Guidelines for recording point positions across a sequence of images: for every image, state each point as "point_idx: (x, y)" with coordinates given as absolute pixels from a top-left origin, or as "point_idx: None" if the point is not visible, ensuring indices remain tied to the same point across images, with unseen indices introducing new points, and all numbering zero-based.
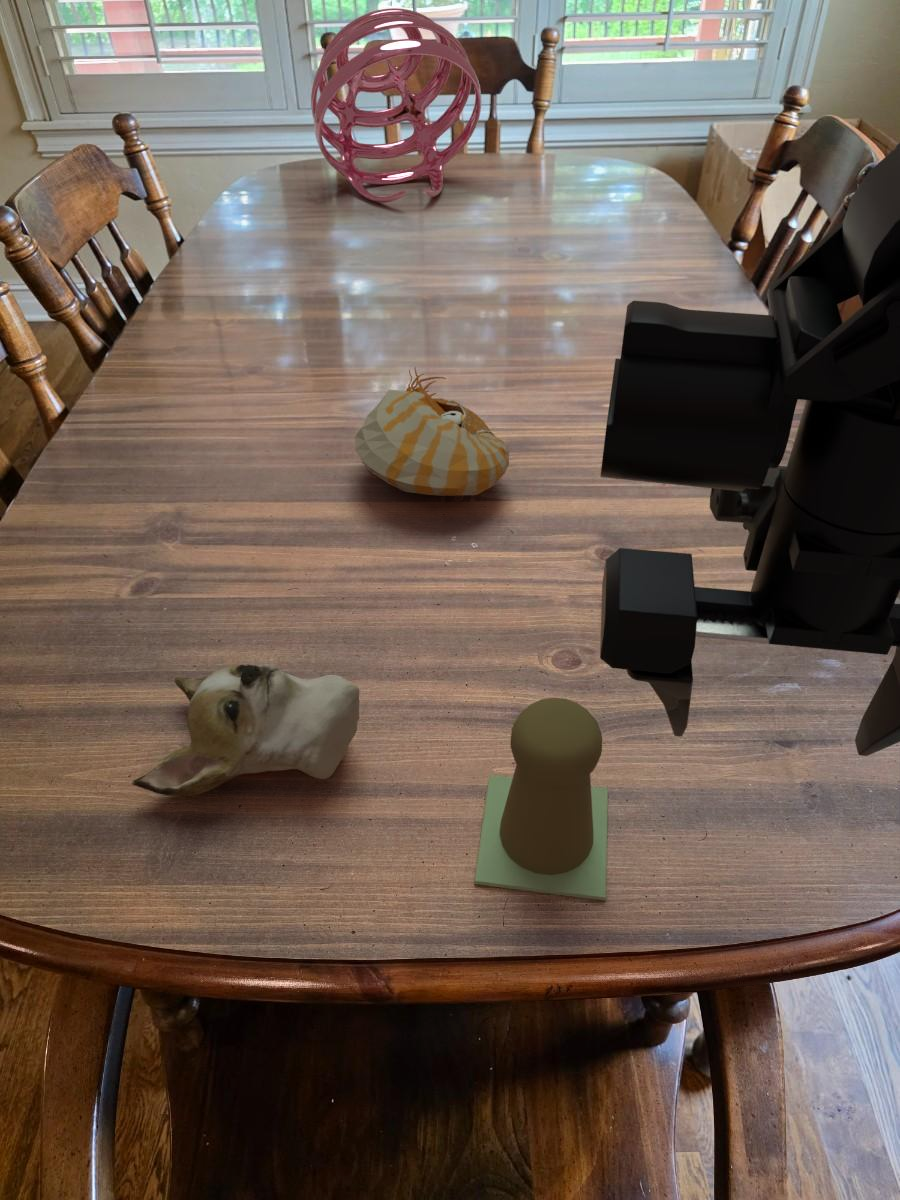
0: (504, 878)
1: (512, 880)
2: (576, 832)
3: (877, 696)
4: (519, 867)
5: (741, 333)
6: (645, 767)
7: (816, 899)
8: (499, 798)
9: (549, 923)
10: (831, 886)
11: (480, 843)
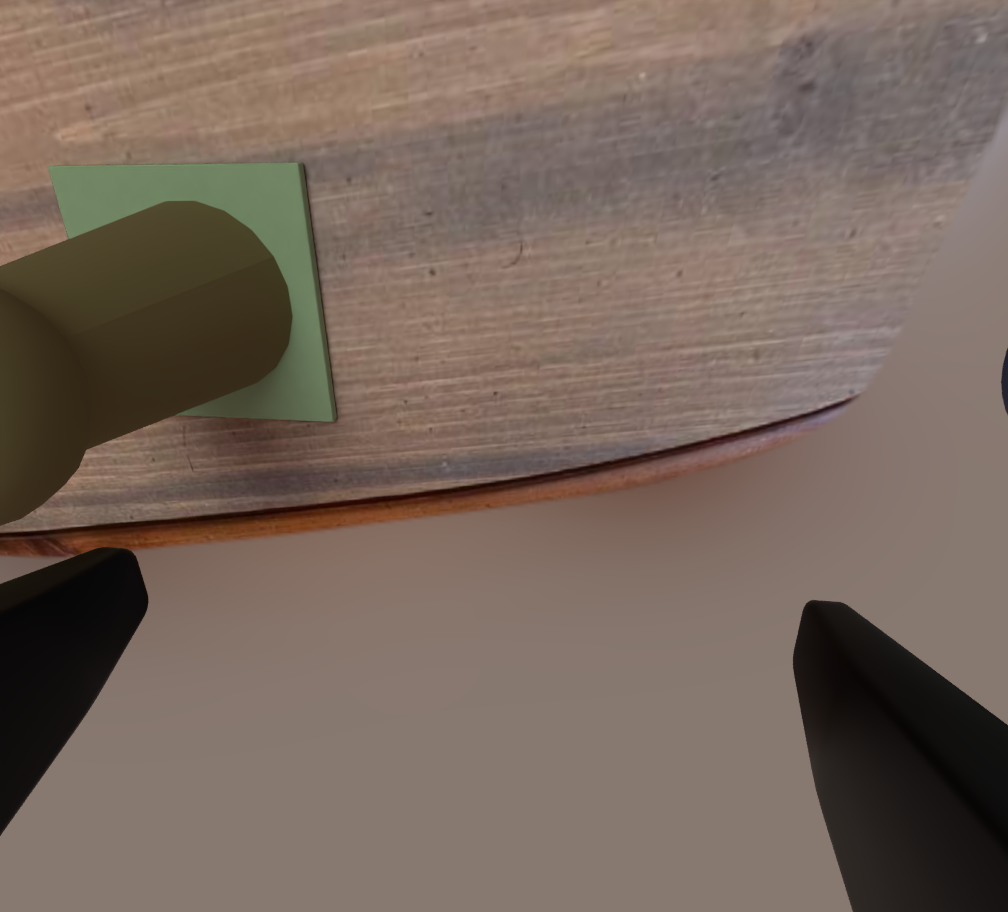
0: None
1: None
2: (207, 395)
3: (953, 841)
4: None
5: None
6: (381, 63)
7: (726, 376)
8: (90, 229)
9: (258, 462)
10: (767, 345)
11: None
